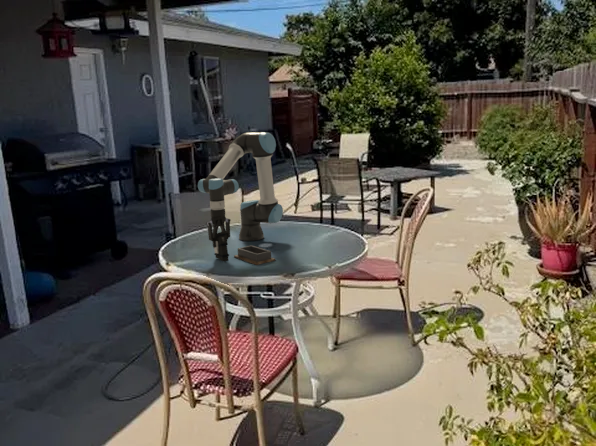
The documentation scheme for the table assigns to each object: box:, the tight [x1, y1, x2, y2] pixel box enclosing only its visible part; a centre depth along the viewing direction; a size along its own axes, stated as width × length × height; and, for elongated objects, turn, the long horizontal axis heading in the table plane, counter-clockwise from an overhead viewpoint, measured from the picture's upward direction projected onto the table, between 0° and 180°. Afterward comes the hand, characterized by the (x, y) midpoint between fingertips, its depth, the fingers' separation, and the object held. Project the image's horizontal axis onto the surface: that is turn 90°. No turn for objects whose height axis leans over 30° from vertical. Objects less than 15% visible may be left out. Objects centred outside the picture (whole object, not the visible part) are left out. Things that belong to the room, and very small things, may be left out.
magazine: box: [213, 231, 230, 263], centre depth 293 cm, size 4×13×15 cm, turn 30°
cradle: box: [237, 245, 272, 262], centre depth 294 cm, size 9×18×4 cm, turn 39°
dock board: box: [233, 254, 277, 266], centre depth 294 cm, size 12×21×1 cm, turn 39°
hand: (220, 252), depth 293 cm, fingers closed on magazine, 4 cm apart
